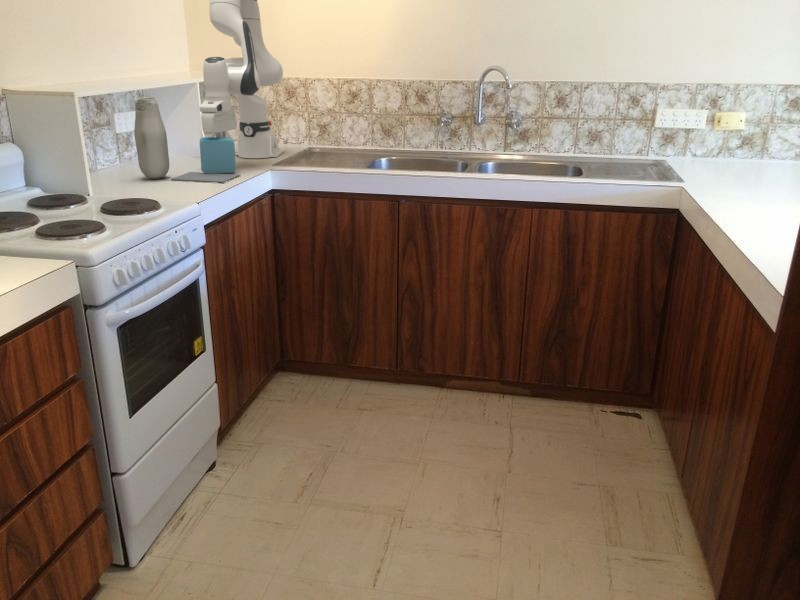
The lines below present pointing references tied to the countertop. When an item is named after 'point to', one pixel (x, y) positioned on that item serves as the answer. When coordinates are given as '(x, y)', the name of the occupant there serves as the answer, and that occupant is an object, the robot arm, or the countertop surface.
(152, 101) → the grey bottle
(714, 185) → the countertop surface
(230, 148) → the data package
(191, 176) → the mat
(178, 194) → the countertop surface
